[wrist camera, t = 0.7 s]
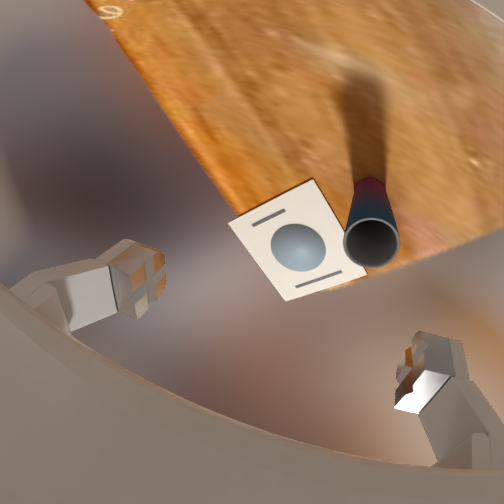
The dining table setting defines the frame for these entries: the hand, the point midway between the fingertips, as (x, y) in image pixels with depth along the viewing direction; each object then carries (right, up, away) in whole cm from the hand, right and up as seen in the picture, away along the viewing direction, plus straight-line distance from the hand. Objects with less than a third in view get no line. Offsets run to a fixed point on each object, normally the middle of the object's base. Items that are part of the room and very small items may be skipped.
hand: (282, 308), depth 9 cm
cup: (+17, +11, +36) cm, 42 cm away
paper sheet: (+7, +2, +46) cm, 47 cm away
